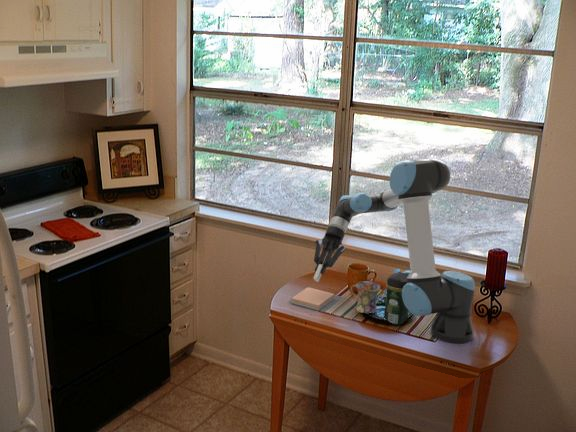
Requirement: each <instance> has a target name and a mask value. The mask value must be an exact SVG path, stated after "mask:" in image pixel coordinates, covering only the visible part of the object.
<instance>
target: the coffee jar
mask: <svg viewBox="0 0 576 432" xmlns="http://www.w3.org/2000/svg"><path fill="white" fill-rule="evenodd" d="M403 272H404V271H400V272H397V273H394V272H393V273H392V274H390V275H389V276H388V277H387V278H386V282H387V284H386V290H387V292H386V293H387V295H386V296H385V297H386V298H385V304H384V310H383V311H384V312H383V319H384V318H385V319H386V320H388V321H389V322H390V323H392V324H391V325H397V326H399V325H402V324H404V323H405V322H406V321H407V319H408V314H409V310H408V309H407V308H406V306H405V304H404V302H403V299H402V290H403V287H404V285H406V284H407V283H408V282H407V277H408V276H409V275H408V274H407V273H403ZM390 323H389V324H390Z"/></svg>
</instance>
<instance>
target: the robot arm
mask: <svg viewBox="0 0 576 432" xmlns="http://www.w3.org/2000/svg"><path fill="white" fill-rule="evenodd" d="M390 171H391V172H390V174H389V187H390V188H388V189H387V190H385V191H383V192H380V193H371V194H370V193H369V194H367V193H365V192H359V193H356V194H354V195H353V196H352V195H351V196H350V195H348V194H347V195H346V194H345V195H342V196H341V197H340V199H339V201H338V202H337V205H336V208H335V211H334V213H333V215H332V217H331V219H330V221H329V224H328V227H327V229H326V231H325V234H324V237H322V239H321V240H318V239H317V240H315V250H314V251H315V252H314V257H313V261H314V263H315V265H316V266H315V269H314V272H315V273H314V275H313V280H314V282H316V283H319V282H320V280H321V277H322V275H324V274H325V272H326V271H327V269H328V268H333V266H334V264H336V261H338V259H339V257H340V256H341V255H342V254H343V253H345V251H346V248H345V246H344V245H343V240H344V238H345V236H346V232H347V230H348V227H349V225H350V224H351V221H352V218H353V217H356V216H357V215H360V214H361V215H362V214H372V213H379V212H380V213H381V212H391V211H395V210H397V208H398V207H399V206H401V205H403V212H404V221H405V222H404V223H405V230H406V241H407V249H408V258H409V266H410V271H411V273H410V274H409V276H408V277H407V282H408V283H407V284H406V285H404V287H403V290H402V299H403V302H404V304H405V306H406V308H407V309H408V312H409V313H411V314H412V315H414V316H417V317H419V316H429V315H433V314H436V315H435V317H434V318H433V320H432V323H431V325H430V333H431V335H432V336H433V337H435V338H436V339H438V340H440V341H444V342H446V343H451V344H465V343H469V342H471V341H472V340H473V339H474V328H473V321H472V311H473V310H472V308H473V303H474V296H475V291H476V290H475V286H476V282H475V280H474V278H473V277H472V276H470V275H468V274H465V273H463V272H460V271H454V270H445V271H442V274H441V273H440V272H439V271H437V269H436V260H435V252H434V244H433V243H434V242H433V232H432V224H431V215H430V206H429V201H430V200H431V199H432V197H433V193H437V192H439V191H441V190H444V189H445V188H446V187H447V186H448V185H449V183H450V180H451V171H450V169H449V167H448V165H447V164H446V163H445V162H444V161H442V160H440V159H436V158H428V159H408V160H407V159H406V160H402V161H401V160H400V161H399V162H397V163H395V165H393V167H392V169H391V170H390ZM321 247H322V248H321ZM321 249H322V250H321Z"/></svg>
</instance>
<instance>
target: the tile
mask: <svg viewBox="0 0 576 432" xmlns="http://www.w3.org/2000/svg"><path fill="white" fill-rule="evenodd" d="M334 295H335V293H333V292H329V291H325V290H321V289H316V288H313V287H310V286H307V287H306V288H304V289H303V290H301V291H300V292H299V293H297V294H296V295H294V296H292V297H291V300H290V301H291V303H294V304H293V305H295V304H297V305H296V306H298V305H301V306H300V307H302V306H305V307H304V308H306V307H308V308H307V309H310V308H312V309H311V310H313V309H316V310H315V311H317V310H319V309H321V308H322V307H323V306H325V305H326V304H327V303H329V302H330V301H331V300H333V299H334ZM291 303H290V304H291Z"/></svg>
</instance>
